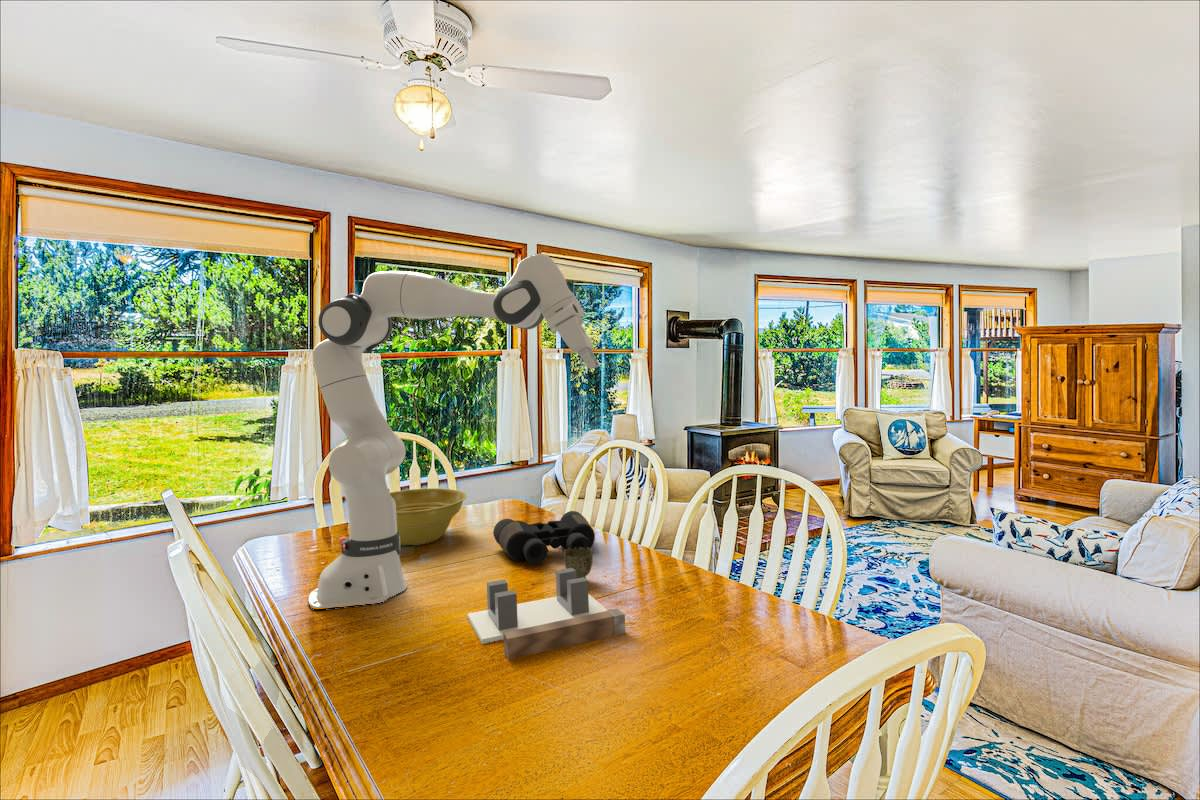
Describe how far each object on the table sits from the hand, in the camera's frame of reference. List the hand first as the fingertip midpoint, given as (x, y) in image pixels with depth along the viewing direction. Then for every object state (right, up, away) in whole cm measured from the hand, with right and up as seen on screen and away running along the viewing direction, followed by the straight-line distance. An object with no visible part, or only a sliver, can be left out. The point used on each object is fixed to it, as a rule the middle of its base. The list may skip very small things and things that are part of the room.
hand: (594, 367), depth 143 cm
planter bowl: (-58, -53, +53) cm, 94 cm away
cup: (-4, -54, +11) cm, 55 cm away
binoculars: (-14, -53, +35) cm, 65 cm away
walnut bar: (-5, -56, -23) cm, 60 cm away
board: (-12, -55, -10) cm, 57 cm away
